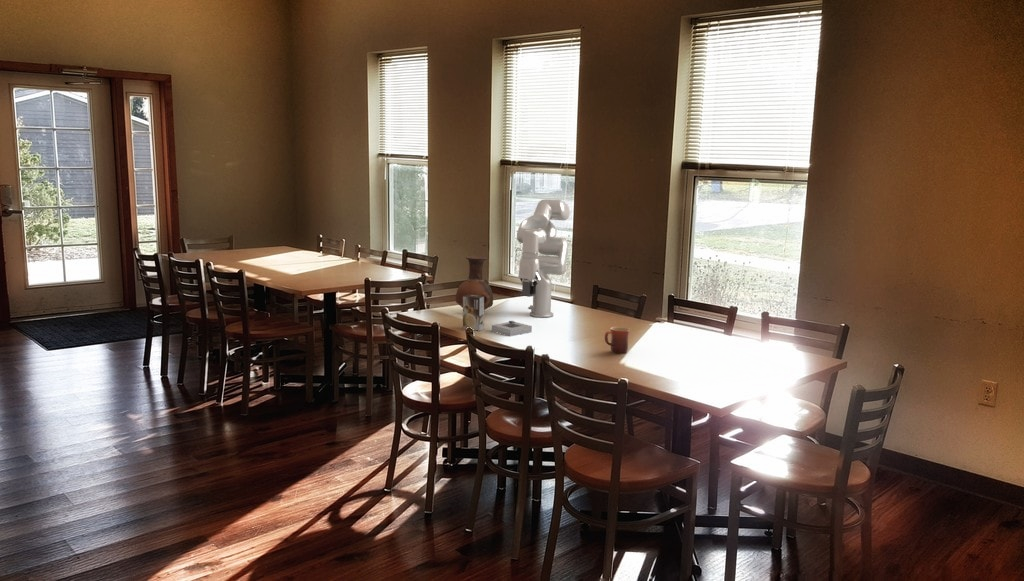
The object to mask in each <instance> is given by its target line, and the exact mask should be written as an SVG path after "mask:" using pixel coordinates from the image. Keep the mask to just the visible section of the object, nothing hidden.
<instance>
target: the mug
mask: <svg viewBox="0 0 1024 581" xmlns="http://www.w3.org/2000/svg"><path fill="white" fill-rule="evenodd" d="M630 332H631V328H629V327H623V326H612V327H609V331H608V330H607V331H606V332H605V333H604V341H605V343H606V345H608V346H610V351H611V352H612V353H613V352H614V353H613V354H618V353H623V354H626V353H627V352H628V350H629V336H630ZM609 335H610V336H611V338H610V342H609V339H608V338H609Z"/></svg>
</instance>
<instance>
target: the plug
mask: <svg viewBox="0 0 1024 581" xmlns="http://www.w3.org/2000/svg"><path fill="white" fill-rule="evenodd" d="M533 283H534V281H533ZM521 285H522V287H521V288H522V290H521V292H522V293H521V295H522V296H523V297H527V298H528V297H529V298H530V297H531V298H532V297H533V296H536V293H535V294H530V286H531V280H524V281H523V283H522V282H521Z"/></svg>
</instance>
